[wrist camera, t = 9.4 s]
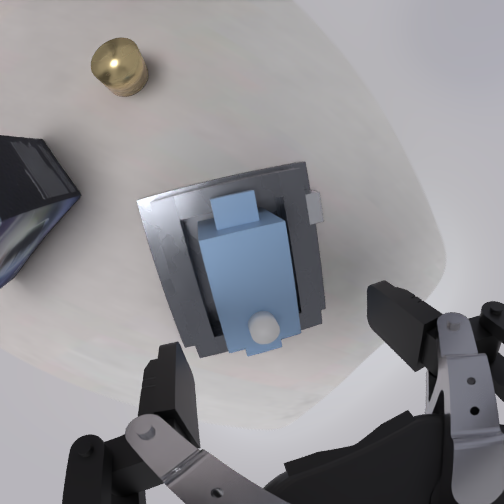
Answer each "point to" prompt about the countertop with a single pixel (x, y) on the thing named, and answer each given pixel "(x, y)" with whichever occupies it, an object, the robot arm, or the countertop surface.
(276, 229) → the servo
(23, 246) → the small box
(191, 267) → the frame
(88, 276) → the countertop surface
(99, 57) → the cylinder
